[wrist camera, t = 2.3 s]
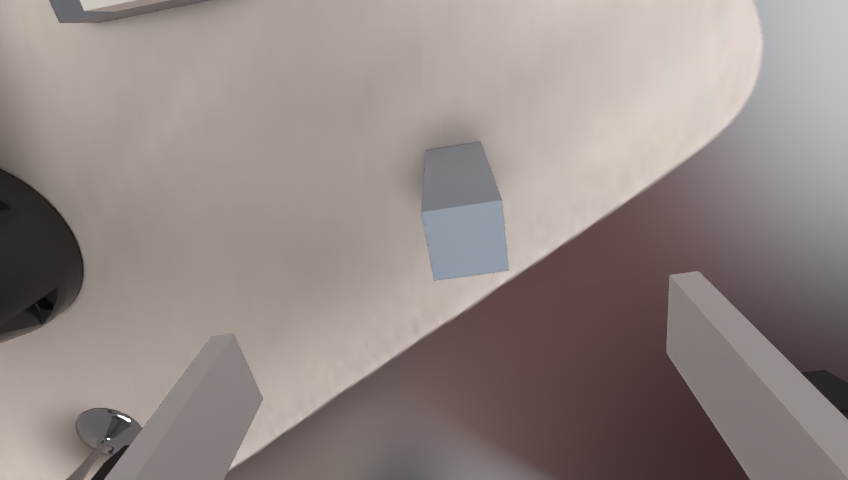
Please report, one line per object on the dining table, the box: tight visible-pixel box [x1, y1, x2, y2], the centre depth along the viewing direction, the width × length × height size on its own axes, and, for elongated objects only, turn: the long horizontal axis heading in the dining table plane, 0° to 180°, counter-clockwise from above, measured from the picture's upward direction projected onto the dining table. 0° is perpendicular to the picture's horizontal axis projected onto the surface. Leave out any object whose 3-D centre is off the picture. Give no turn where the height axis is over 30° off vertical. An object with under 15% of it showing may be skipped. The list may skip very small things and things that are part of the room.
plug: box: [421, 142, 509, 281], centre depth 29 cm, size 4×4×12 cm
